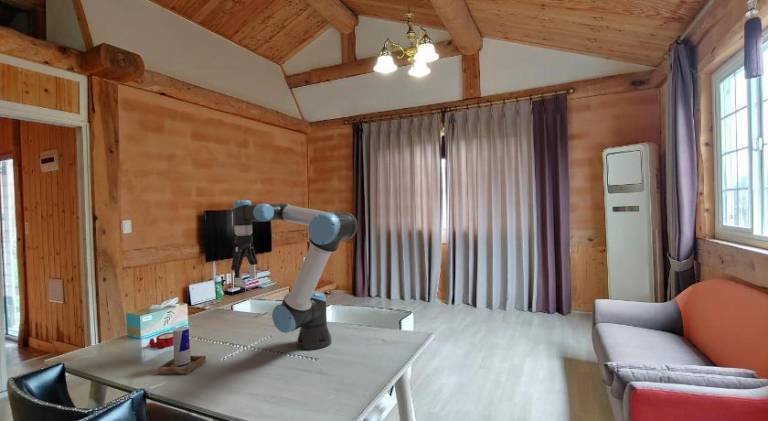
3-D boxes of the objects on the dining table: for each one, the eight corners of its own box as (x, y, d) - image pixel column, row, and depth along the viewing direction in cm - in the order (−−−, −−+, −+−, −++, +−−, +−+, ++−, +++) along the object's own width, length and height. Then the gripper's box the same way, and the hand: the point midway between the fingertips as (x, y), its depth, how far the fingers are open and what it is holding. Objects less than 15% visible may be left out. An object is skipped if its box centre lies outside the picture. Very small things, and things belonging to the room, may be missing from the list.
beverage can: (183, 369, 146) (181, 330, 146) (171, 369, 147) (169, 330, 147) (193, 363, 152) (192, 326, 151) (181, 363, 153) (179, 325, 153)
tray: (205, 361, 155) (205, 355, 155) (187, 374, 143) (187, 368, 143) (178, 361, 156) (178, 355, 156) (157, 374, 144) (157, 368, 144)
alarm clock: (187, 332, 182) (158, 336, 168) (185, 346, 180) (155, 350, 167) (172, 330, 186) (142, 333, 172) (170, 344, 185) (140, 348, 171)
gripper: (248, 232, 184) (250, 276, 184) (221, 237, 159) (223, 288, 159) (263, 232, 183) (265, 276, 183) (238, 236, 158) (240, 287, 158)
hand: (245, 281), depth 171 cm, fingers open, 13 cm apart
